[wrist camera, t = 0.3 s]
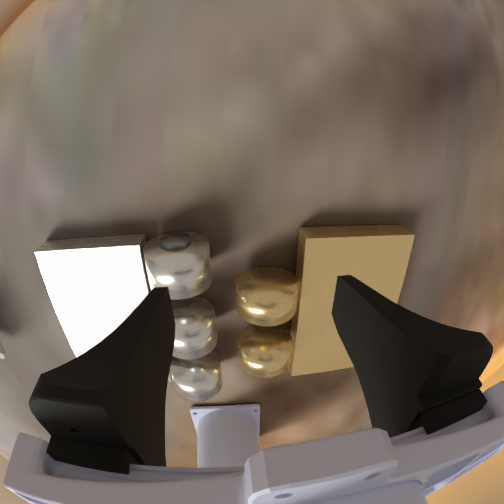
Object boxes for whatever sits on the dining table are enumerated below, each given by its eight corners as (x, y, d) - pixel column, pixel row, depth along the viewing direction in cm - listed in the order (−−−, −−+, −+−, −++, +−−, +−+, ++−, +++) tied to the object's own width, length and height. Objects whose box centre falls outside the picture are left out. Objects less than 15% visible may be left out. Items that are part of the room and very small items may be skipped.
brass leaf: (369, 349, 29) (385, 379, 25) (238, 365, 28) (241, 401, 24) (402, 224, 23) (431, 248, 19) (232, 229, 22) (235, 259, 18)
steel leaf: (222, 367, 28) (223, 403, 24) (93, 366, 27) (82, 398, 23) (209, 223, 21) (207, 251, 18) (44, 235, 20) (17, 261, 16)
